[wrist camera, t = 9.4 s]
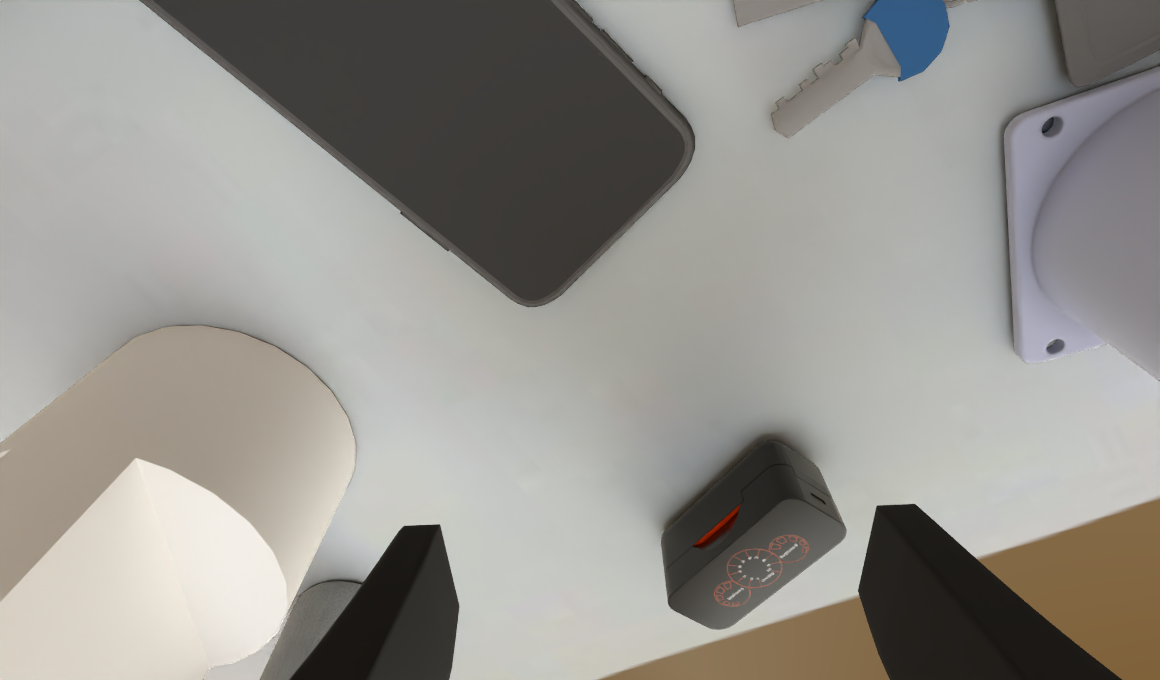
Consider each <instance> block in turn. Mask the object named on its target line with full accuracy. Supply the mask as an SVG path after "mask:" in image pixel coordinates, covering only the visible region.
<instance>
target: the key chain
mask: <svg viewBox="0 0 1160 680" xmlns="http://www.w3.org/2000/svg"><path fill="white" fill-rule="evenodd" d="M818 1H821V0H733V2H734V7H735V13H736V19H737V24H738V27H740V26H743V25H746V24H749V23H752V22H756V21H759V20H762V19H765V18H768V17H771V16H774V15H778V14H781V13H784V12H787V11H790V10H793V9H796V8H799V7H803V6H806V5H809V4H812V3H815V2H818ZM965 1H967V2H973V1H977V0H952V1H946V0H876V1H875V3H874V4H873V5H872V6H871V7H870V9H869V10H868V11H867V12H866V13H865V15H864V16H863V17H862V18H863V19H865V23H864V27H863V31H862V34H861V38H860V41H859V45H858V43H857V41H856V39H855V38H853V39H852V40H850V41H849V42H848V43H847V44H845V45H846V47H847V48H846V49H845V50H844V51H842V52H841V53H840V54H839V55H840V57H841V59H842V60H841V61H840V62H839V63H837V64H836V65H834V63H833V61H832V60H831V61H829V62H828V63H827V64H825V65H824V66H823V65H822V63H820V64H819V65H818V66H817V67H815V68H814V69H813V71H814V73H815V74H816V76H817V77H818V79H816V80H815V81H814V82H812V83H810V82H809V80H808V79H806V80H805V81H803V82H802V83H801V84H799V86H800V88H801V89H802V91H801V92H799V93H798V94H797V95H795V96H794V97H793V98H791V99H790V100H789V101H786V99H785V98H784V97H782V98H781V99H780V100H778V101H777V102H776V104H777V106H778V107H779V108H778V109H777V110H776V111H774V112H773V113H772V114H771V115H772V119H773V124H774V129H775V130H776V131H777V132H779V133H780V134H782V135H783V136H785V137H786V138H790V137H791V136H793V135H794V134H795V133H797V132H798V131H799V130H801V129H802V128H803V127H805V126H806V125H807V124H809V123H810V122H811V121H813V120H814V119H815V118H817V117H818V116H819V115H821V114H822V113H824V112H825V111H826V110H828V109H829V108H830V107H832V106H833V105H834V104H836V103H837V102H838V101H840V100H841V99H842V98H844V97H845V96H846V95H848V94H849V93H850V92H852V91H853V90H855V89H856V88H857V87H859V86H860V85H861V84H863V83H864V82H865V81H867V80H868V79H869V78H871V77H872V76H873V75H875V74H876V75H882V76H892V77H898V81H902V80H905V79H907V78H909V77H912V76H914V75H916V74H919V73H921V72H923V71H924V70H925V69H926V68H927V67H928V66H929V65H930V64H931V62H932V61H933V60H934V59H935V58H936V57H937V56H938V55H939V54H940V52H941V51H942V48H943V45H944V42H945V39H946V36H947V33H948V29H949V21H948V16H947V11H946V8H952V7H955V6H958V5H961V4H963V3H964V2H965ZM1055 6H1056V11H1057V16H1058V22H1059V27H1060V32H1061V38H1062V43H1063V48H1064V54H1065V59H1066V64H1067V69H1068V75H1069V80H1070V82H1071V83H1072V84H1073V85H1074V86H1075V87H1081V86H1087V85H1089V84H1091V83H1093V82H1095V81H1097V80H1099V79H1101V78H1103V77H1106V76H1108V75H1110V74H1112V73H1114V72H1116V71H1118V70H1120V69H1122V68H1124V67H1126V66H1128V65H1130V64H1132V63H1134V62H1136V61H1138V60H1140V59H1142V58H1144V57H1146V56H1148V55H1150V54H1152V53H1155V52H1157V51H1159V50H1160V0H1055Z"/></svg>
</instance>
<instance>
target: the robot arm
mask: <svg viewBox="0 0 1160 680" xmlns="http://www.w3.org/2000/svg"><path fill="white" fill-rule="evenodd" d="M1051 117H1053V118H1054V123H1053V126H1052V127H1051V128H1050V130H1049V131H1047V132H1045V133H1044V134H1042V131H1041V130H1042V126H1043V124H1044V123H1045V122H1046V120H1048V119H1050V118H1051ZM1004 148H1005V168H1006V188H1007V209H1008V229H1009V249H1010V269H1011V289H1012V309H1013V330H1014V350H1015V353H1016V355H1017V356H1018V357H1019V358H1020V359H1021V360H1023V361H1024V362H1025V363H1029V364H1035V363H1040V362H1044V361H1048V360H1051V359H1055V358H1059V357H1063V356H1066V355H1070V354H1074V353H1077V352H1081V351H1085V350H1088V349H1092V348H1096V347H1100V346H1103V345H1107V344H1109V345H1110V346H1112V347H1113V348H1114V349H1116V350H1117V351H1119V352H1120V353H1121V354H1123V355H1124V356H1125V357H1127V358H1128V359H1130V360H1131V361H1132V362H1134V363H1135V364H1137V365H1138V366H1139V367H1141V368H1142V369H1143V370H1145V371H1146V372H1148V373H1149V374H1150V375H1152V376H1153V377H1154V378H1156V379H1157V380H1159V381H1160V66H1159V67H1156V68H1153V69H1150V70H1147V71H1144V72H1141V73H1138V74H1135V75H1132V76H1129V77H1127V78H1124V79H1121V80H1118V81H1115V82H1112V83H1109V84H1106V85H1103V86H1100V87H1097V88H1094V89H1091V90H1088V91H1085V92H1082V93H1080V94H1077V95H1074V96H1071V97H1068V98H1065V99H1062V100H1059V101H1056V102H1053V103H1050V104H1047V105H1044V106H1041V107H1038V108H1035V109H1032V110H1030V111H1027V112H1024V113H1022V114H1020V115H1018V116H1016V117H1015V118H1014V119H1013V120H1012V121H1011V122H1010V123H1009V124H1008V126H1007V128H1006V130H1005V135H1004ZM1055 339H1056V341H1055V342H1054V343H1053V345H1051V346H1049V347H1047V345H1048V344H1049V343H1050V342H1051V341H1053V340H1055ZM858 592H859V595H860V599H861V602H862V605H863V608H864V611H865V615H866V618H867V621H868V624H869V627H870V630H871V633H872V636H873V639H874V642H875V645H876V648H877V651H878V654H879V656H880V658H881V660H882V663H883V665H884V667H885V670H886V672H887V674H888V676H889V678H890V680H1122V679H1120V678H1119V677H1118V676H1116V675H1115V674H1114V673H1113V672H1111V671H1110V670H1109V669H1108V668H1106V667H1105V666H1104V665H1102V664H1101V663H1100V662H1099V661H1097V660H1096V659H1095V658H1094V657H1092V656H1091V655H1089V653H1087V652H1086V651H1085V650H1083V649H1082V648H1081V647H1080V646H1078V645H1077V644H1075V643H1074V642H1073V641H1072V640H1071V639H1070V638H1068V637H1067V636H1066V635H1065V634H1063V633H1062V632H1061V631H1060V630H1059V629H1057V628H1056V627H1055V626H1054V625H1052V624H1051V623H1050V622H1049V621H1047V620H1046V619H1045V618H1044V617H1043V616H1042V615H1040V614H1039V613H1038V612H1037V611H1036V610H1034V609H1033V608H1032V607H1031V606H1030V605H1029V604H1027V603H1026V602H1025V601H1024V600H1023V599H1022V598H1020V597H1019V596H1018V595H1017V594H1016V593H1015V592H1013V591H1012V590H1011V589H1010V588H1009V587H1008V586H1006V585H1005V584H1004V583H1003V582H1002V581H1001V580H1000V579H998V578H997V577H996V576H995V575H994V574H993V573H991V572H990V571H989V570H988V569H987V568H986V567H985V566H984V565H982V564H981V563H980V562H979V561H978V560H977V559H976V558H975V557H974V556H972V555H971V554H970V553H969V552H968V551H967V550H966V549H965V548H964V547H962V546H961V545H960V544H959V543H958V542H957V541H956V540H955V539H954V538H952V537H951V536H950V535H949V534H948V533H947V532H946V531H945V530H944V529H942V528H941V527H940V526H939V525H938V524H937V523H936V522H935V521H934V520H932V519H931V518H930V517H929V516H928V515H927V514H926V513H925V512H923V511H922V510H921V509H920V508H919V507H918V506H917V505H915V504H906V505H882V506H877V507H876V512H875V516H874V521H873V526H872V530H871V535H870V539H869V544H868V548H867V553H866V557H865V562H864V566H863V571H862V575H861V580H860V584H859V589H858ZM458 613H459V603H458V599H457V594H456V590H455V586H454V582H453V578H452V573H451V569H450V565H449V561H448V557H447V552H446V548H445V544H444V540H443V536H442V531H441V527H440V524H439V525H416V526H404V527H403V528H402V529H401V530H400V531H399V532H398V533H397V535H396V536H395V538H394V539H393V541H392V542H391V543H390V545H389V546H388V548H387V549H386V551H385V552H384V554H383V555H382V557H381V558H380V560H379V561H378V562H377V564H376V565H375V567H374V568H373V570H372V571H371V573H370V574H369V575H368V577H367V578H366V580H365V581H364V582H363V584H362V585H361V587H360V588H359V589H358V591H357V592H356V594H355V595H354V596H353V598H352V599H351V601H350V602H349V603H348V605H347V606H346V607H345V609H344V610H343V611H342V613H341V614H340V615H339V617H338V618H337V619H336V621H335V622H334V623H333V625H332V626H331V627H330V629H329V630H328V631H327V633H326V634H325V635H324V637H323V638H322V639H321V640H320V642H319V643H318V644H317V646H316V647H315V648H314V649H313V651H312V652H311V653H310V654H309V656H308V657H307V658H306V659H305V661H304V662H303V663H302V664H301V665H300V667H299V668H298V669H297V670H296V672H295V673H294V674H293V675H292V676H291V678H290V679H289V680H449V678H450V673H451V669H452V662H453V654H454V646H455V639H456V630H457V621H458Z"/></svg>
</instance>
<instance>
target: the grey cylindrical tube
mask: <svg viewBox="0 0 1160 680" xmlns="http://www.w3.org/2000/svg"><path fill="white" fill-rule="evenodd" d="M360 587H361V584H358V583H353V582H344V581H333V582H325V583H321V584H318V585H315V586H313V587H311V588H309V589H308V590H306V591H305V592H304V593H303V594H302V595H301V596H300V597H299V599H298V601H297V603H296V604H295V606H294V608H293V610H292V612H291V614H290V616H289V618H288V620H287V623H286V625H285V627H284V629H283V631H282V633H281V635H280V637H279V639H278V642H277V644H276V646H275V648H274V650H273V652H272V654H271V656H270V659H269V661H268V663H267V665H266V667H265V669H264V671H263V673H262V676H261V678H260V680H289V679H290V678H291V676H292V675H293V674H294V673H295V672H296V670H297V669H298V668H299V667H300V665H301V664H302V663H303V662H304V661H305V659H306V658H307V657H308V656H309V654H310V653H311V652H312V651H313V649H314V648H315V647H316V646H317V644H318V643H319V642H320V640H321V639H322V638H323V637H324V635H325V634H326V633H327V631H328V630H329V629H330V627H331V626H332V625H333V623H334V622H335V621H336V619H337V618H338V617H339V615H340V614H341V613H342V611H343V610H344V609H345V607H346V606H347V605H348V603H349V602H350V601H351V599H352V598H353V596H354V595H355V594H356V592H357V591H358V589H359V588H360Z"/></svg>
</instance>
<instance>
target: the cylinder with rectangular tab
mask: <svg viewBox="0 0 1160 680" xmlns="http://www.w3.org/2000/svg"><path fill="white" fill-rule="evenodd" d="M355 456H356V443H355V439H354V436H353V433H352V429H351V426H350V422H349V419H348V417H347V415H346V414H345V412H344V410H343V409H342V407H341V406H340V404H339V403H338V401H337V399H336V398H335V396H334V395H333V393H332V391H331V390H330V389H329V388H328V387H327V386H326V385H325V384H323V383H322V382H321V381H320V380H319V379H318V378H317V377H316V376H315V375H314V374H313V373H312V372H311V371H310V370H309V369H308V368H307V367H306V366H305V365H303V364H301V363H300V362H298V361H297V360H295V359H294V358H292V357H291V356H289V355H287V354H286V353H284V352H283V351H281V350H280V349H278V348H277V347H275V346H273V345H270V344H268V343H265V342H263V341H260V340H258V339H255V338H253V337H250V336H248V335H245V334H243V333H240V332H236V331H230V330H225V329H219V328H214V327H208V326H203V325H196V326H173V327H164V328H161V329H158V330H155V331H152V332H148V333H145V334H142V335H139V336H136V337H135V338H133V339H132V340H131V341H129V342H128V343H127V344H125V345H124V346H122V347H121V348H120V349H118V350H117V351H116V352H114V353H113V354H112V355H111V356H109V357H108V358H107V359H106V360H104V361H103V362H102V363H100V364H99V365H98V366H97V367H95V368H94V369H93V370H92V371H90V372H89V373H88V374H87V375H85V376H84V377H83V378H82V379H80V380H79V381H78V382H77V383H75V384H74V385H73V386H72V387H70V388H69V389H68V390H67V391H65V392H64V393H63V394H62V395H60V396H59V397H58V398H56V399H55V400H54V401H53V402H51V403H50V404H49V405H48V406H46V407H45V408H44V409H43V410H41V411H40V412H39V413H38V414H36V415H35V416H34V417H33V418H31V419H30V420H29V421H28V422H26V423H25V424H24V425H23V426H21V427H20V428H19V429H18V430H16V431H15V432H14V433H13V434H11V435H10V436H9V437H7V438H6V439H5V440H4V441H2V442H1V443H0V680H204V678H205V676H206V674H207V673H208V671H209V669H210V668H213V667H218V666H223V665H228V664H232V663H235V662H237V661H239V660H241V659H243V658H245V657H247V656H249V655H251V654H253V653H256V652H258V651H259V650H260V649H261V648H262V647H263V646H264V645H266V644H267V643H268V642H269V641H270V640H271V639H272V638H273V637H274V636H275V635H276V634H277V633H278V631H279V629H280V627H281V625H282V623H283V621H284V619H285V616H286V614H287V612H288V610H289V608H290V606H291V604H292V602H293V600H294V598H295V596H296V593H297V591H298V589H299V587H300V585H301V583H302V581H303V579H304V577H305V575H306V573H307V570H308V568H309V566H310V564H311V562H312V560H313V558H314V556H315V554H316V552H317V550H318V547H319V545H320V543H321V541H322V539H323V537H324V535H325V533H326V531H327V529H328V527H329V524H330V522H331V520H332V518H333V516H334V514H335V512H336V510H337V508H338V506H339V504H340V501H341V499H342V497H343V495H344V493H345V491H346V489H347V486H348V484H349V482H350V479H351V477H352V475H353V472H354V470H355Z"/></svg>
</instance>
